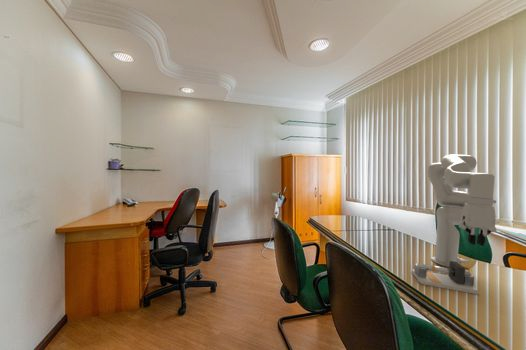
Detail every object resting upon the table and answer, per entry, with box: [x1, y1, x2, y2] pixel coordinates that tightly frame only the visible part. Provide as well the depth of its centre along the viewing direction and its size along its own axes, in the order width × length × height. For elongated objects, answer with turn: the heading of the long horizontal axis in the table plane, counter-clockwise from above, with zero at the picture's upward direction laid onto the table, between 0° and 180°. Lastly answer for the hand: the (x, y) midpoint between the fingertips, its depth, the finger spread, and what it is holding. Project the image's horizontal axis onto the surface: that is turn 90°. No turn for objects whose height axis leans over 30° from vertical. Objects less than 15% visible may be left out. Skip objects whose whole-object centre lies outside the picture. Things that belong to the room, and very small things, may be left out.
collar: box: [448, 261, 466, 285], centre depth 96 cm, size 2×7×7 cm, turn 163°
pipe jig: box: [411, 262, 479, 295], centre depth 98 cm, size 20×12×7 cm, turn 73°
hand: (476, 243), depth 94 cm, fingers closed
